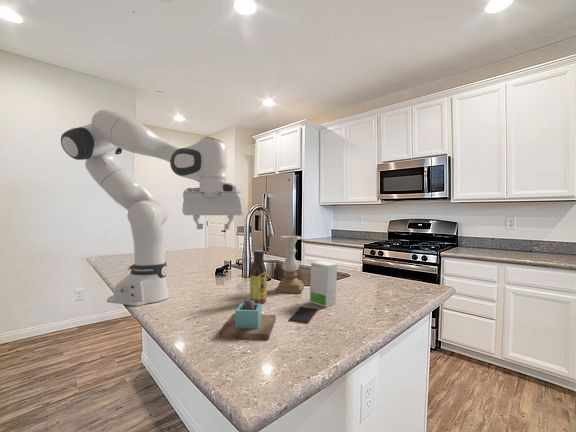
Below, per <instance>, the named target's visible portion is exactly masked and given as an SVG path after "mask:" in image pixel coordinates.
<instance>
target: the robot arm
mask: <svg viewBox="0 0 576 432" xmlns="http://www.w3.org/2000/svg"><path fill="white" fill-rule="evenodd" d="M60 145H61V147H62V149H63V151H64V152H65V153H66V154H67V155H68V156H69V157H70V158H72V159H74V160H76V161H78V160H79V161H81V160H82V161H83V160H85V163H84V165H85V169H86V170H87V172H88V173H89V174H90V176H91V177H92V179H93V180H94V181H95V182H96V183H97V185H99V187H101V188H102V190H103V191H104V192H105V193H107V195H108V196H110V198H112V200H113V201H114V202H115V203H116V204H119V205H120V206H121V207H123V208H124V209H125V210H127V214H126V215H127V219H128V222H129V223H130V224H129V225H130V230H131V235H132V239H133V245H134V247H133V248H134V263H133V264H132V265H130V266H128V269H127V270H130V272H129V274H128V275H127V276H125V277H124V278H122V279H121V280H120V281H119V282H118V283H117V284H116V285H115V286H114V290H113V295H111V296H109V297H107V299H106V303H110V304H118V305H125V306H133V307H138V306H142V305H145V304H146V305H147V304H152V303H158V302H162V301H164V300H166V299H168V298H170V296H171V295H170V291H169V288H168V283H167V277H166V276H167V273H168V271H167V270H168V269H167V262H166V241H165V238H164V233H163V225H165V223H166V222H167V220H168V217H169V212H168V209H167V207H166V206H165V205H164V204H163V203H162V202H161V201H160V200H159V199H157V197H155V196H154V195H153V194H152V193H151V192H149V191H148V189H146V188H145V187H144V186H143V185H142V184H140V182H139V181H137V179H136V178H135V177H134V176H133V175H132V174H131V173H130V172H129V171H128V170H127V169H126V168H125V167H124V166H123V165H122V164H121V163H120V162H119V160H118V159H117V158H116V155H120V154H122V153H123V150H124V151H127V152H129V153H134V154H138V155H142V156H146V157H152V158H156V159H160V160H164V161H165V162H168V163H169V165H170V169H171V171H172V172H173V173H174V174H176V175H177V176H179V177H182V178H185V179H190V180H193V181H195V182H198V183H199V187H187V188H186V189H185V190H183V193H182V198H183V202H182V214H183V215H184V216H193V217H192V218H193V221H194V222H195V224H196V230H203V229H204V224H203V223H201V221H200V219H201V216H227V219H228V221H227V223H224V230H231V224H232V222H233V221H234V217H235V216H243V215H244V213H245V201H244V197H243V196H242V194H241V191H242V188H241V187H240V186H238V185H235V184H232V183H229V182H228V177H227V173H226V172H227V168H228V157H227V148H226V144H225V143H224V142H222V141H221V140H220V139H217V138H215V137H214V138H213V137H209V136H206V137H201V138H200V139H199V141H198V142H196V143H194V144H191V145H189V146H186V147H185V146H184V147H182V148H181V147H177V146H175V145H174V144H172V143H170V142H168V141H166V140H165V139H164V138H162V137H161V136H159V135H158V134H156V133H155V132H154V131H153V130H151V129H149V128H148V127H147V126H145V125H144V124H142V123H140V122H139V121H137V119H133V117H130V116H127V115H125V114H122V113H120V112H116V111H113V110H109V109H101V110H98V111H97V112H95V113H94V114H93V115H92V118H91V123H88V124H86V125H83V126H79V127H72V128H70V129H68V130H65V132H63V133H62V134H61V136H60Z"/></svg>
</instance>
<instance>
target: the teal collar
mask: <svg viewBox="0 0 576 432" xmlns="http://www.w3.org/2000/svg"><path fill="white" fill-rule="evenodd" d="M262 306H263V303H261V304H254V310H244V302H241V303H240V304H239V305H238V307H237V308H236V309H235V312H234V314H235V328H253V329H258V328H259V325H260V323H261V320H262V315H263V314H262V312H263V311H262V309H263V307H262Z"/></svg>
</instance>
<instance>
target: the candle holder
mask: <svg viewBox="0 0 576 432" xmlns="http://www.w3.org/2000/svg"><path fill="white" fill-rule="evenodd" d="M278 238H279V239H280V240H283V241H284V243H285V244H286V245H285V246H286V248H285V249H284V252H285V254H286V258H285V259H284V261H283V263H282V266H281V267H282V270H284V272H283V276H284V278H283V279H281V280H280V282H278V285H277V286H276V289H275V290H276V293H280V294H284V293H285V294H298V295H299V294H302V292H303V291H304V288H305V287H304V286H305V283H304V282H303V279H302V280H301V279H298V278H297V276H298V273H297V270H299V268H300V266H299V262H298V261H297V259H296V257H295V254H296V252H297V249H296V246H295V245H296V243H297V241H298V240H302V239H303V236H301V235H280V236H279V237H278Z"/></svg>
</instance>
